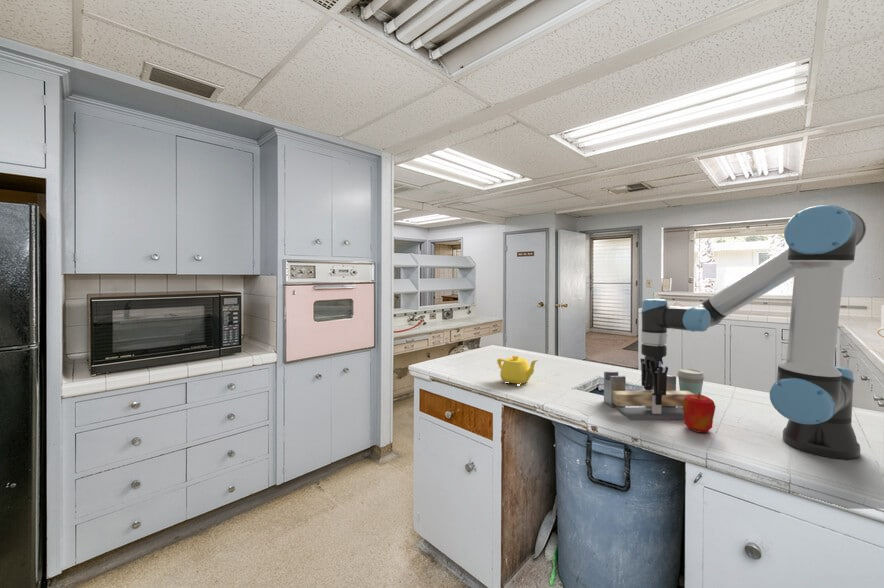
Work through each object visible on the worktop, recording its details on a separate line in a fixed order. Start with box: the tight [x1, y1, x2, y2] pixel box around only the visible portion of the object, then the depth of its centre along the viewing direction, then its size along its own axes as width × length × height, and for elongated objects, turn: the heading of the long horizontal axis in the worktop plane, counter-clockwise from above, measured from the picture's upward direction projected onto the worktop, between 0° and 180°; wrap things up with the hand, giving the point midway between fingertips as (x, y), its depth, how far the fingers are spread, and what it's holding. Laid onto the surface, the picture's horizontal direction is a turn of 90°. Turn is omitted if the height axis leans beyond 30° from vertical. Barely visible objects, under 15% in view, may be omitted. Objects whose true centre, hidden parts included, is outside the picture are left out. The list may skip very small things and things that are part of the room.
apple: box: [682, 393, 716, 433], centre depth 115 cm, size 9×8×12 cm
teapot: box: [496, 355, 539, 384], centre depth 168 cm, size 13×20×12 cm
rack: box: [603, 371, 677, 408], centre depth 138 cm, size 7×23×12 cm, turn 88°
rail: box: [612, 390, 694, 407], centre depth 128 cm, size 26×4×4 cm, turn 88°
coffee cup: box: [676, 368, 705, 395], centre depth 139 cm, size 8×8×12 cm
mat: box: [616, 406, 684, 421], centre depth 128 cm, size 10×24×1 cm, turn 88°
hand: (653, 410), depth 128 cm, fingers closed on rail, 4 cm apart
